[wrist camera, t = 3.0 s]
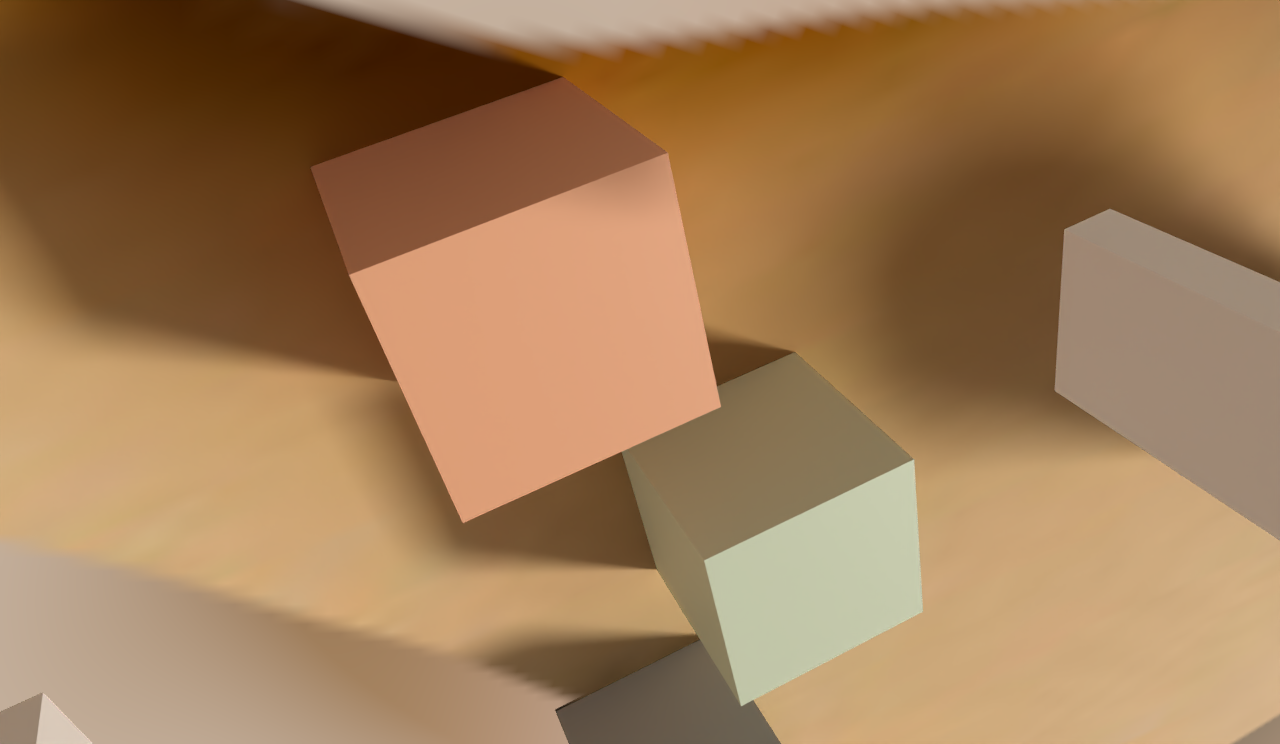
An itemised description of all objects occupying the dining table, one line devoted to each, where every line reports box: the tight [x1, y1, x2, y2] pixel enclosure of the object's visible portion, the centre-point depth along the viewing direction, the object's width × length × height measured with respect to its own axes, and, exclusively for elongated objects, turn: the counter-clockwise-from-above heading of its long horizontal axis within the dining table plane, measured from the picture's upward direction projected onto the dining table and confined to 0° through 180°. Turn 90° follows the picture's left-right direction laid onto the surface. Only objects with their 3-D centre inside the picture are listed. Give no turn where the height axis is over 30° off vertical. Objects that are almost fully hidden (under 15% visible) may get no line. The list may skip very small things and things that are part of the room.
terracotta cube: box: [310, 77, 721, 523], centre depth 17 cm, size 5×5×5 cm
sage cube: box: [622, 352, 923, 706], centre depth 23 cm, size 5×5×5 cm
